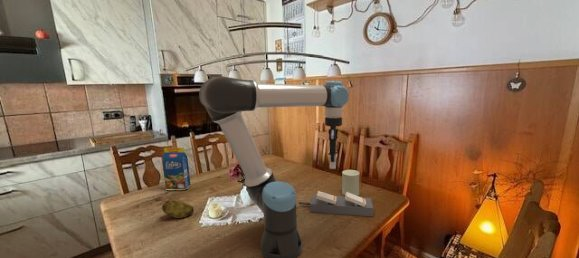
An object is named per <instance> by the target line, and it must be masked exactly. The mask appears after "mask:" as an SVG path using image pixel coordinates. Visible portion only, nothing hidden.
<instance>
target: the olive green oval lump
mask: <svg viewBox="0 0 579 258" xmlns="http://www.w3.org/2000/svg"><path fill="white" fill-rule="evenodd" d="M161 210H162V212H163V213H164V214H166V215H167V216H169V217H172V218H175V219H182V218H183V217H184V218H186V217H189V216H191V215H192V214H193V213H194V211H195V209H194V206H193V205H192V204H190V203H186V202H184V201H180V200H177V199H169V200H166V201H165V202H164V203H162V206H161Z"/></svg>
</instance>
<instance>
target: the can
mask: <svg viewBox="0 0 579 258" xmlns="http://www.w3.org/2000/svg"><path fill="white" fill-rule="evenodd" d="M341 175H342V177H341V184H342V185H341V186H342V188H341V193H342V195H344V196H345V194H346V192H349V193H351V194H354V195H356V196H359V195H360V171H359V170H355V169H345V170H343V171H342V172H341Z"/></svg>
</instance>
